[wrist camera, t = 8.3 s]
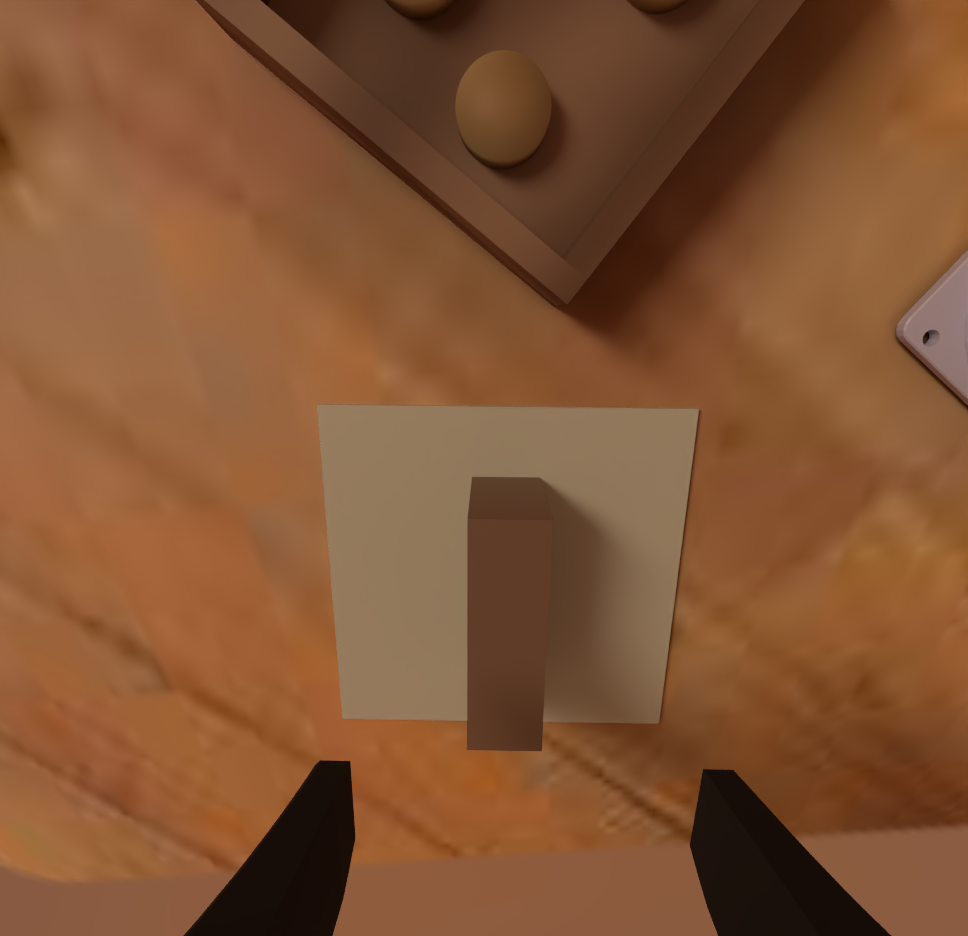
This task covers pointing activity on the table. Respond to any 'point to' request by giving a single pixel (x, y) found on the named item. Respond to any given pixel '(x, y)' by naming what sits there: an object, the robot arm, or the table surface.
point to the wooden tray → (517, 104)
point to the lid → (504, 562)
